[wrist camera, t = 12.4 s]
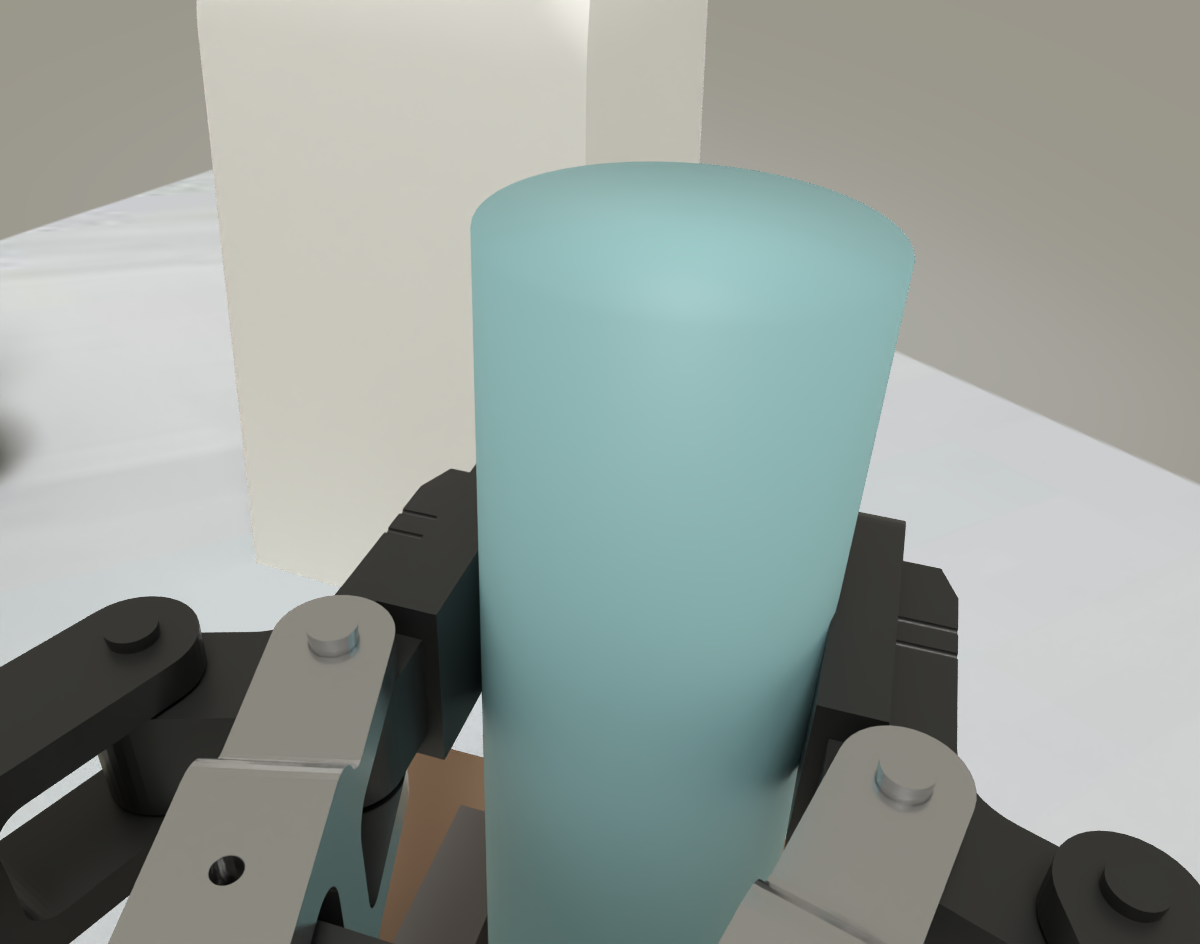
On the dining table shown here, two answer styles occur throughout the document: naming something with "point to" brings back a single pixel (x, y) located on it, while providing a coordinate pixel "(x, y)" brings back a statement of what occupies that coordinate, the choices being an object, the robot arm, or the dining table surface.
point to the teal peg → (662, 526)
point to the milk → (398, 220)
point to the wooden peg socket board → (441, 856)
